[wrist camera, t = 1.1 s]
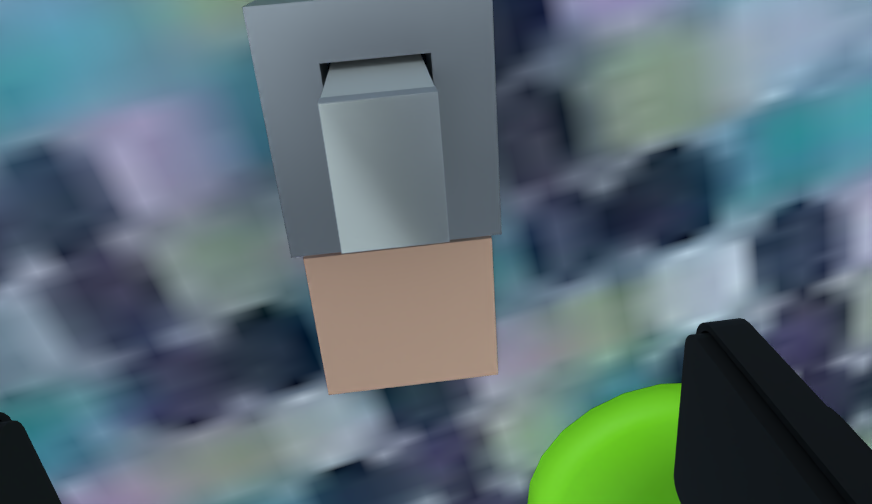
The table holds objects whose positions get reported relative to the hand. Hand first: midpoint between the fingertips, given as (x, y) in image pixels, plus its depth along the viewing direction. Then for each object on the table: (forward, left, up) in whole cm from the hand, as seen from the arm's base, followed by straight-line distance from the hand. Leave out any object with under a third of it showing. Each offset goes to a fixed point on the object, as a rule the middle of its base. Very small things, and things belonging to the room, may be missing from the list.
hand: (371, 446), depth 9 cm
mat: (-11, 0, -22) cm, 24 cm away
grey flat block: (0, 0, -22) cm, 22 cm away
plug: (0, 0, -22) cm, 22 cm away
